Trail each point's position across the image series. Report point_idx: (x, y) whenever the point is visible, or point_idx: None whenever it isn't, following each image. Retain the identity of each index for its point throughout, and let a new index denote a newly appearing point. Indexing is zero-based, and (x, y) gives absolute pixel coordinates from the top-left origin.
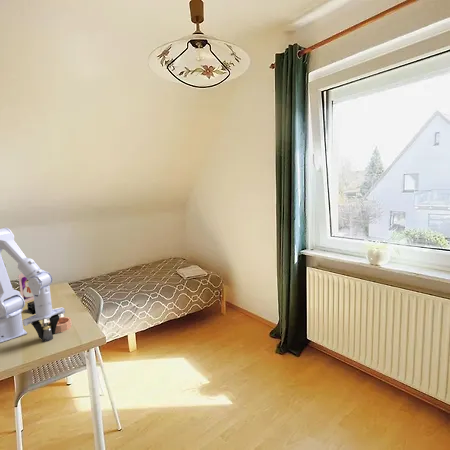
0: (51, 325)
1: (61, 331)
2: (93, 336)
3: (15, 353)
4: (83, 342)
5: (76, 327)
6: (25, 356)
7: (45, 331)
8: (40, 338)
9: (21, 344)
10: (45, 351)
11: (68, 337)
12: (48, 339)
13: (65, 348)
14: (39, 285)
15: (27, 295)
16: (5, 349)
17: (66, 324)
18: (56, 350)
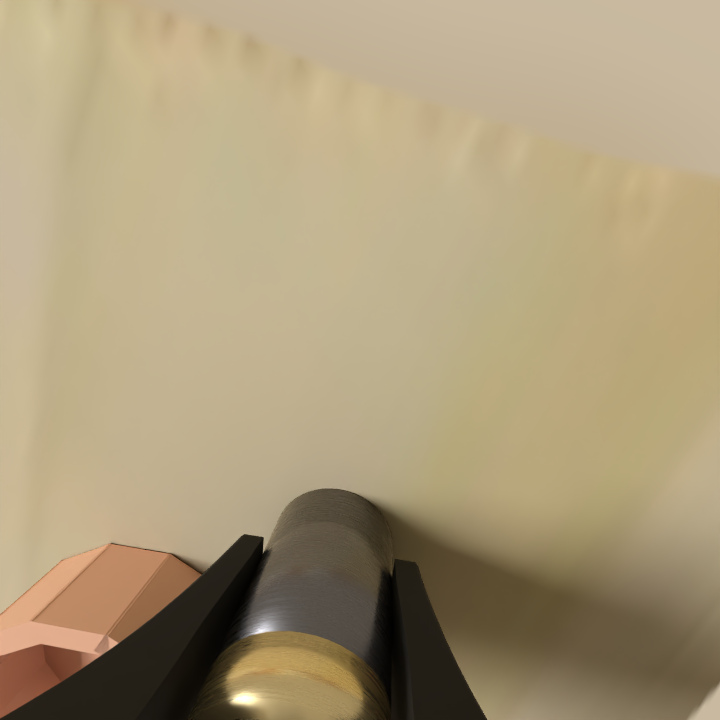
0: (203, 691)
1: (162, 560)
2: None
3: (708, 543)
4: (63, 44)
5: (16, 514)
6: (705, 376)
7: (348, 622)
8: (418, 572)
9: (550, 659)
10: (500, 276)
11: (158, 373)
12: (342, 504)
13: (302, 105)
14: None
15: None
16: (696, 698)
17: (44, 606)
18: (404, 166)
